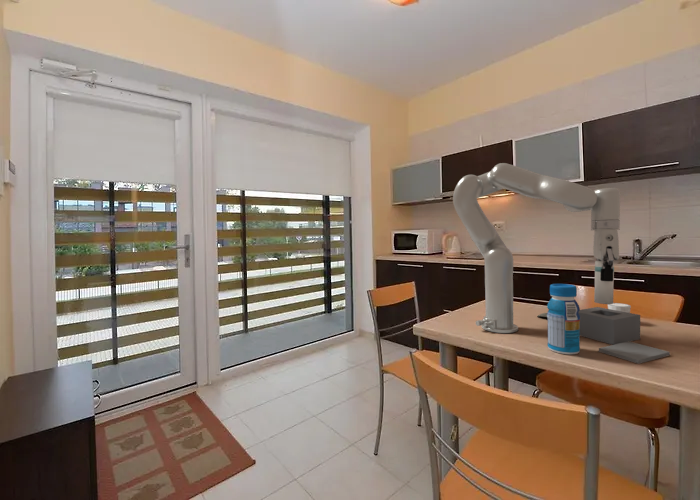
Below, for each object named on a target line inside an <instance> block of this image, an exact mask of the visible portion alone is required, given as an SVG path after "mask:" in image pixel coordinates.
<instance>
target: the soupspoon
mask: <svg viewBox="0 0 700 500" xmlns="http://www.w3.org/2000/svg"><path fill="white" fill-rule="evenodd" d="M538 317H543V318H547V312H543V313H540V314H538V315H537V318H538Z"/></svg>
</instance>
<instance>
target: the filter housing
mask: <svg viewBox="0 0 700 500" xmlns="http://www.w3.org/2000/svg"><path fill="white" fill-rule="evenodd" d="M578 313H579V315H580V337H583V338H588V339H591V340H595V341H597V342H602V343H605V344H608V345H615V344H619V343H623V342H628V341H630V342H633V341H637V340H641V314H638V313H632V312H630V313H627V312H622V311H617V310H611V309H608V308H606V307H601V306H599V307H598V306H596V307H595V306H594V307H590V308H589V307H588V308H583V309H580V310H579V312H578Z"/></svg>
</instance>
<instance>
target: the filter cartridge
mask: <svg viewBox="0 0 700 500" xmlns="http://www.w3.org/2000/svg"><path fill="white" fill-rule="evenodd" d="M601 269H602V262H601V261H596V260H595V261H594V296H593V297H594V298H593V299H594V300H593V301H594V303H596V304H601V305H602V304H603V305H608V304H613V303H614V289H615V287H614V281H615V276H614V275H615V261H613V281H601V280H600V278H601Z"/></svg>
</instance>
